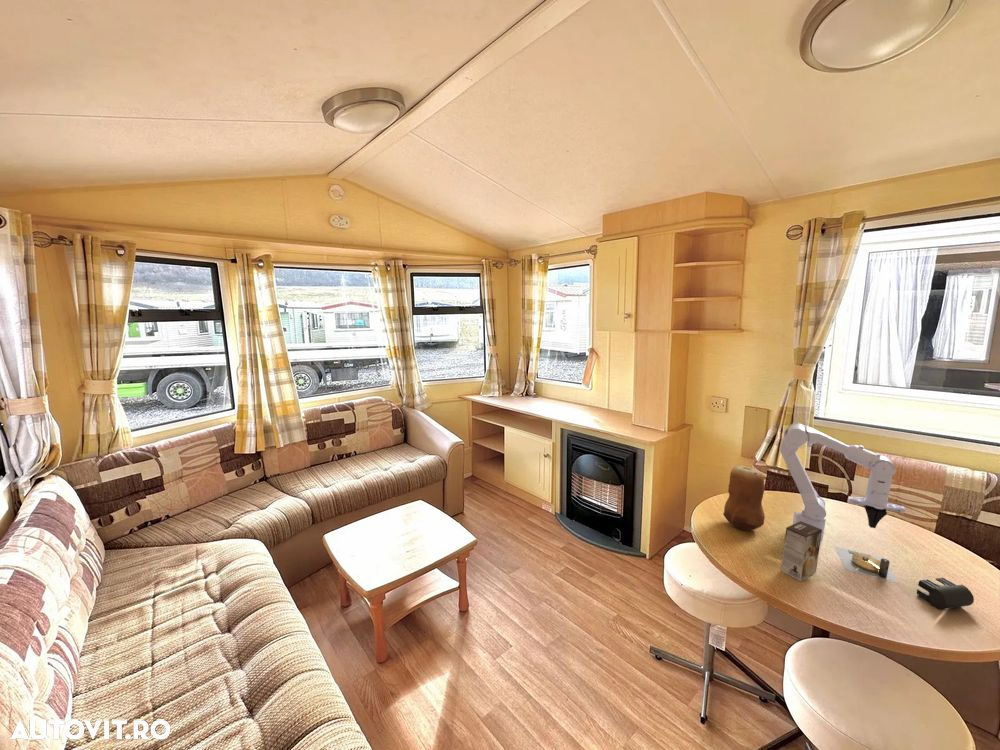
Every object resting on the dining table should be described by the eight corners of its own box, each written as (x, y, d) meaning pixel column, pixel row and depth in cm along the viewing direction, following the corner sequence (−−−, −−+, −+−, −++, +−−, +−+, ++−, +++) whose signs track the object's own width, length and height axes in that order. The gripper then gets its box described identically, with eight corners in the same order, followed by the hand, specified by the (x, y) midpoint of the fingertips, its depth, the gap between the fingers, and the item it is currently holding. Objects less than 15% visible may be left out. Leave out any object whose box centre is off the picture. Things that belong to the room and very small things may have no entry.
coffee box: (795, 562, 137) (800, 520, 134) (816, 573, 132) (823, 529, 129) (779, 571, 133) (785, 527, 130) (801, 582, 127) (808, 536, 125)
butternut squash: (751, 519, 165) (757, 462, 161) (769, 537, 152) (777, 476, 148) (716, 517, 166) (722, 461, 162) (732, 536, 153) (738, 475, 149)
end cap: (942, 616, 114) (947, 595, 113) (914, 598, 121) (918, 578, 119) (971, 612, 115) (976, 591, 114) (941, 595, 122) (946, 575, 121)
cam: (845, 557, 138) (847, 542, 137) (868, 557, 138) (871, 543, 137) (872, 577, 128) (875, 562, 127) (898, 577, 128) (900, 562, 127)
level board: (844, 572, 132) (845, 569, 132) (834, 548, 145) (835, 545, 145) (897, 586, 126) (898, 582, 126) (882, 559, 139) (883, 556, 138)
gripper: (853, 490, 138) (848, 526, 141) (911, 500, 131) (904, 537, 134) (848, 482, 144) (843, 517, 147) (903, 491, 137) (896, 527, 140)
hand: (871, 526), depth 141 cm, fingers closed
